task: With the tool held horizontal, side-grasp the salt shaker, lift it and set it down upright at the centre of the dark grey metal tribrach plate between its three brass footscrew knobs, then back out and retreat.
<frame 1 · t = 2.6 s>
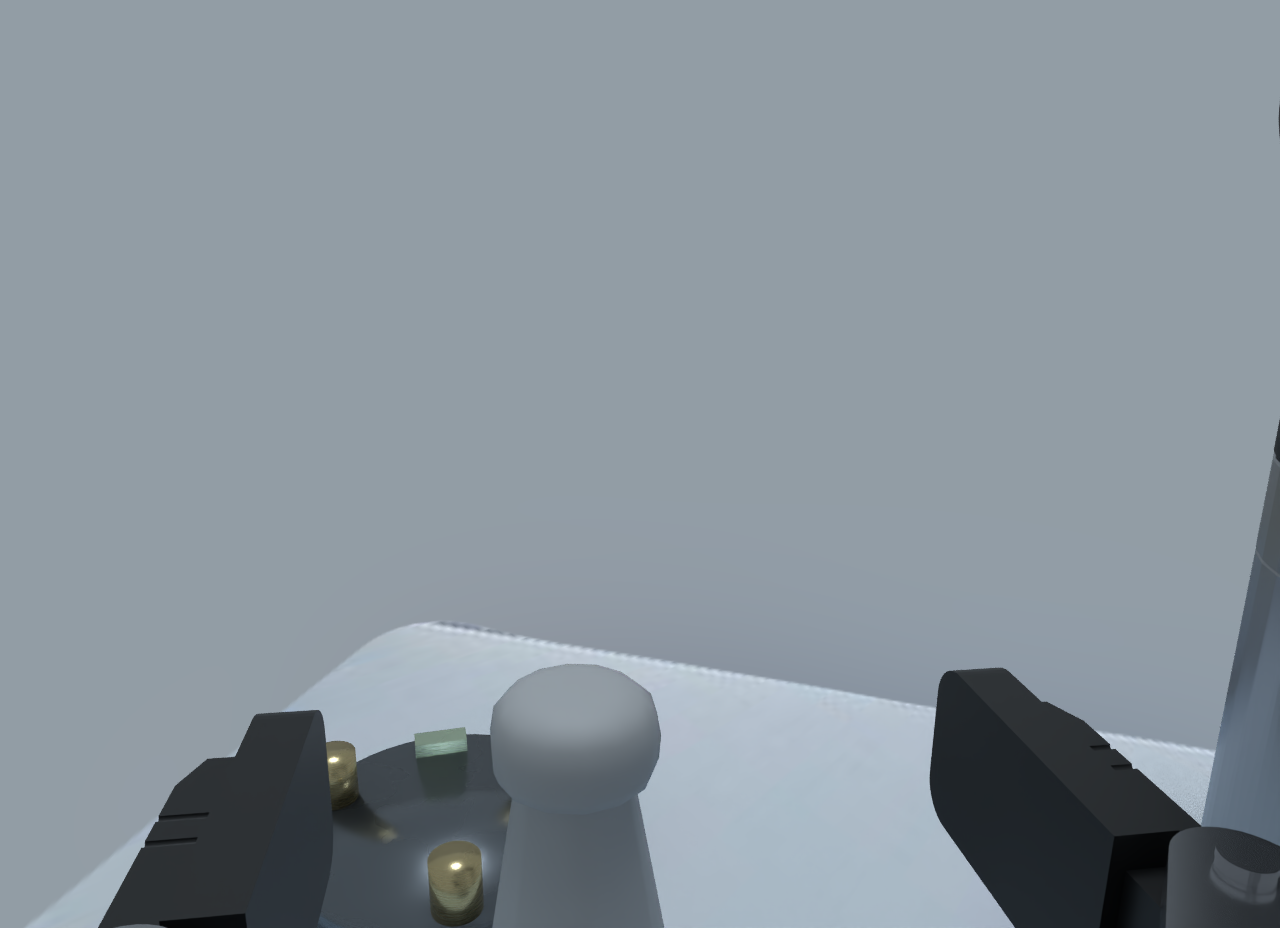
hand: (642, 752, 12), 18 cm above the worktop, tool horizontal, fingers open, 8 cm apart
tribrach: (449, 844, 38), on the worktop
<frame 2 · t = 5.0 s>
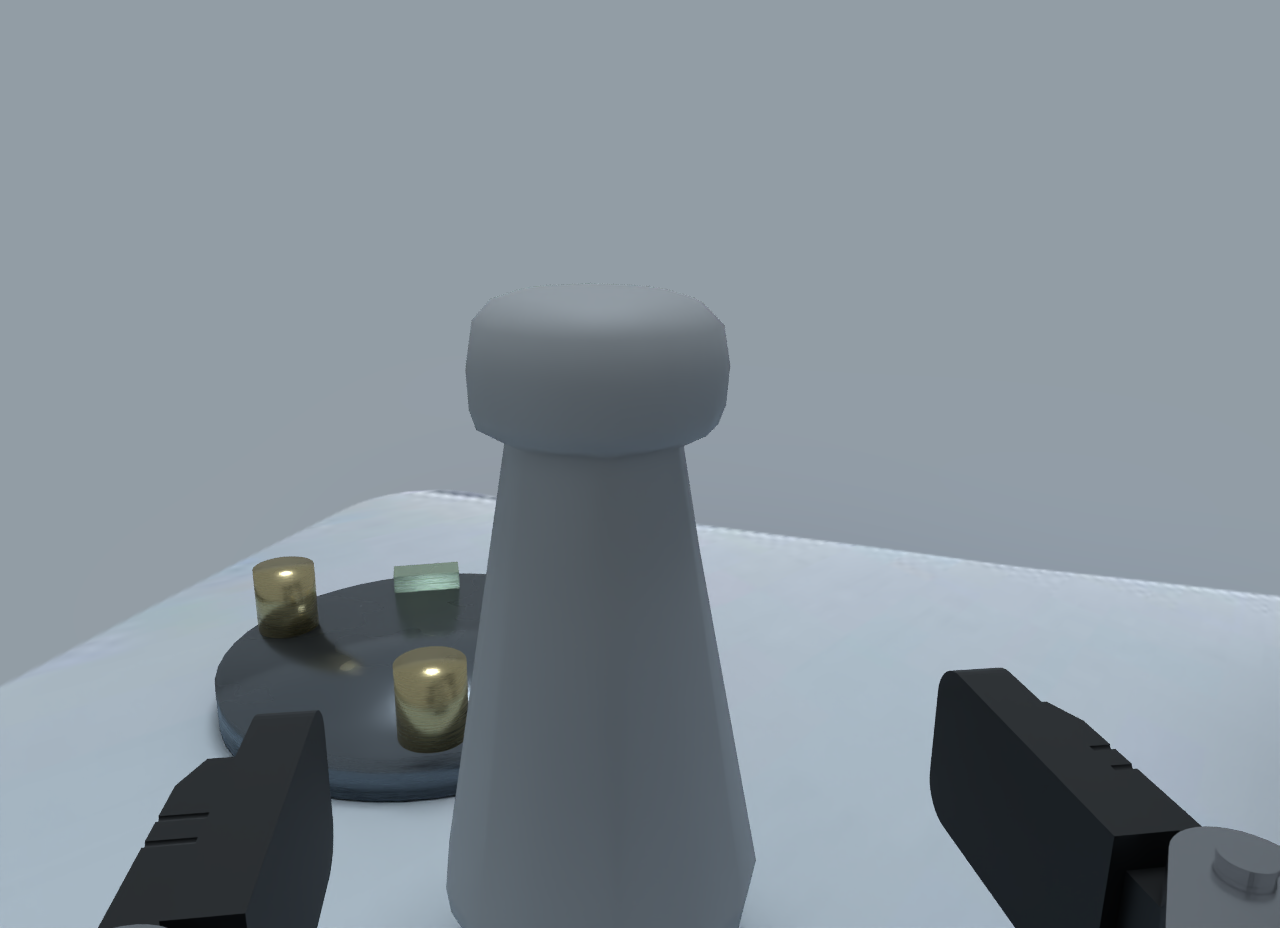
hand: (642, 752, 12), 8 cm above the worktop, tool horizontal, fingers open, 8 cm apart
tribrach: (431, 683, 30), on the worktop
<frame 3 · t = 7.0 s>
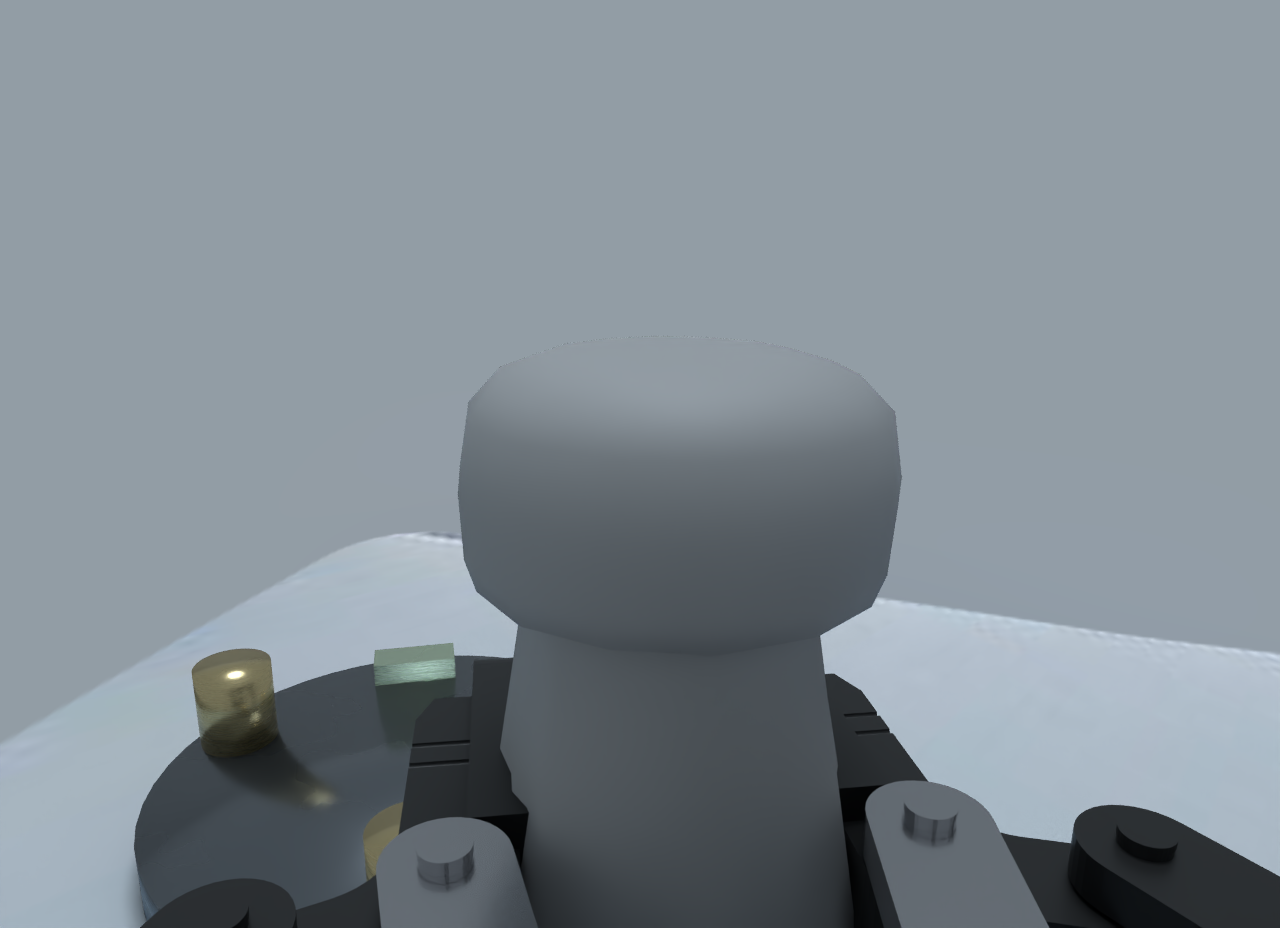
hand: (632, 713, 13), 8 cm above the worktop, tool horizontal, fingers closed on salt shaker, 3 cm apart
tribrach: (420, 815, 23), on the worktop
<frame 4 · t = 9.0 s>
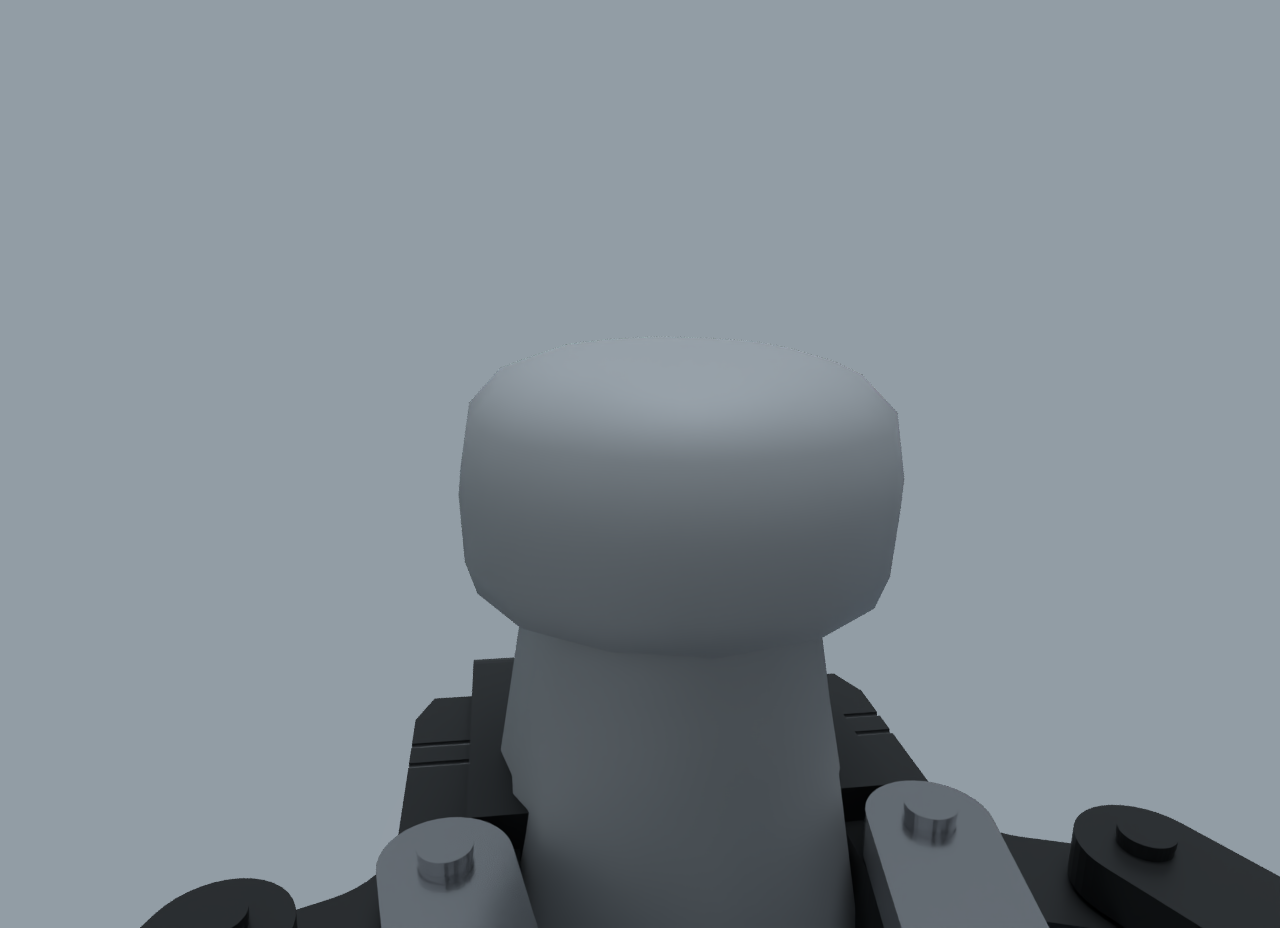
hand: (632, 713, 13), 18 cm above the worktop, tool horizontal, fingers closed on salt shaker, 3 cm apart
when the fingers open (10 cm above the worktop, at t = 11.3 s): salt shaker stays where it is, resting on tribrach.
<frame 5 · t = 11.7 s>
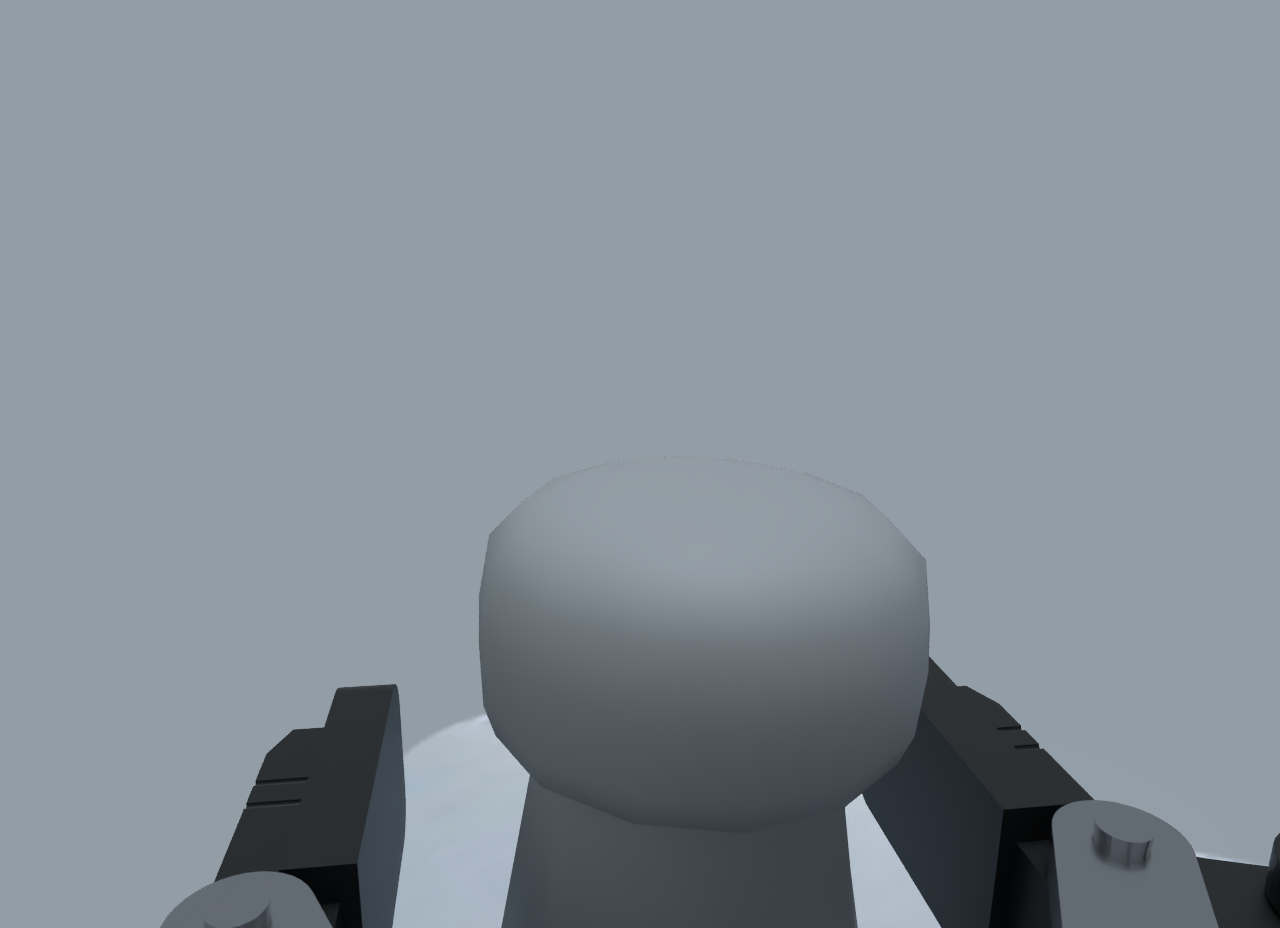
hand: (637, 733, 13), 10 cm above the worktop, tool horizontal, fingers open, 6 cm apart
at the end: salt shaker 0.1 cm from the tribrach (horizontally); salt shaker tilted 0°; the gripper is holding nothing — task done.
